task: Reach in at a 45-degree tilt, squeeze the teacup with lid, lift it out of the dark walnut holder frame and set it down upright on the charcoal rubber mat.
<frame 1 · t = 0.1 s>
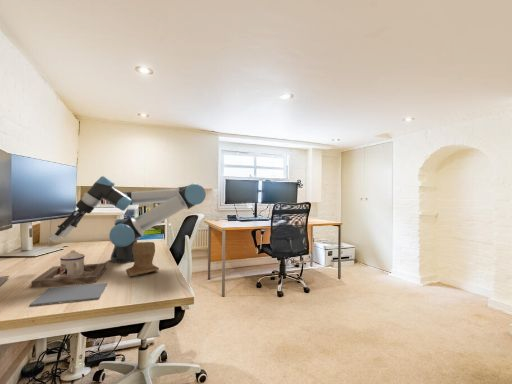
hand: (57, 238, 125), 15 cm above the table, tool tilted 35°, fingers open, 13 cm apart
brown upright rounded piece: (140, 273, 123), on the table
charcoal rubber mat: (72, 294, 96), on the table
walnut holder frame: (73, 276, 115), on the table
teacup with lid: (73, 277, 115), resting in walnut holder frame
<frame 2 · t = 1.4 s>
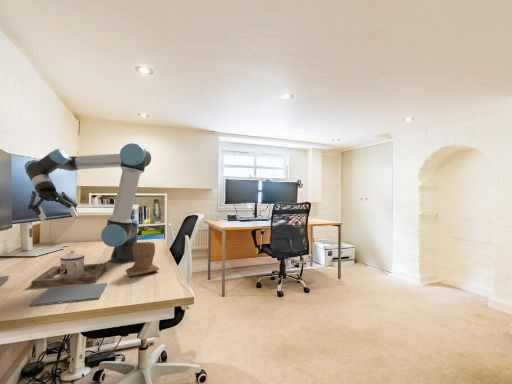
hand: (60, 218, 120), 26 cm above the table, tool tilted 45°, fingers open, 13 cm apart
nothing on the table moved.
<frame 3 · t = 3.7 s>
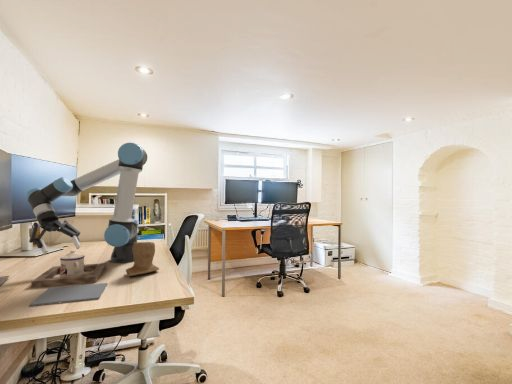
hand: (63, 250, 117), 11 cm above the table, tool tilted 45°, fingers open, 13 cm apart
nothing on the table moved.
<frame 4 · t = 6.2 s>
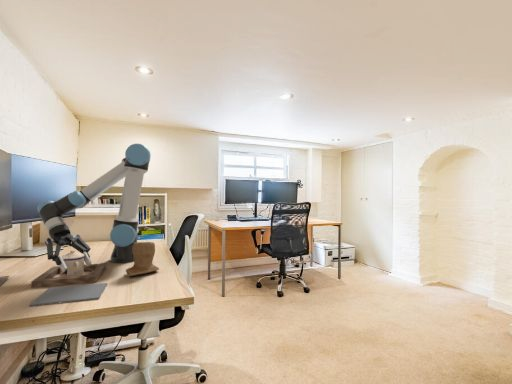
hand: (77, 267, 114), 5 cm above the table, tool tilted 45°, fingers open, 10 cm apart
teacup with lid: (73, 277, 115), resting in walnut holder frame, touching gripper
everything else where it was.
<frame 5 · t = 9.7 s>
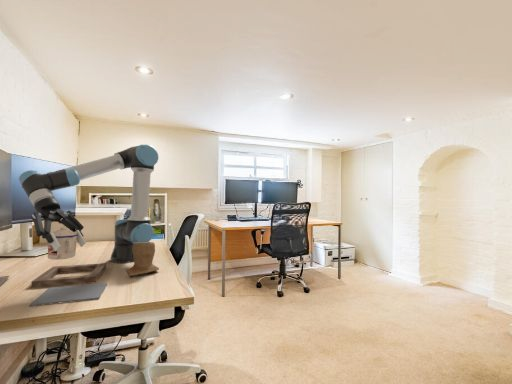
hand: (71, 246, 98), 17 cm above the table, tool tilted 45°, fingers closed on teacup with lid, 9 cm apart
teacup with lid: (63, 258, 99), point 13 cm above the table, touching gripper
everything else where it was.
when the fingers open (7 cm above the table, at t = 12.9 s): teacup with lid drops 1 cm, resting on charcoal rubber mat.
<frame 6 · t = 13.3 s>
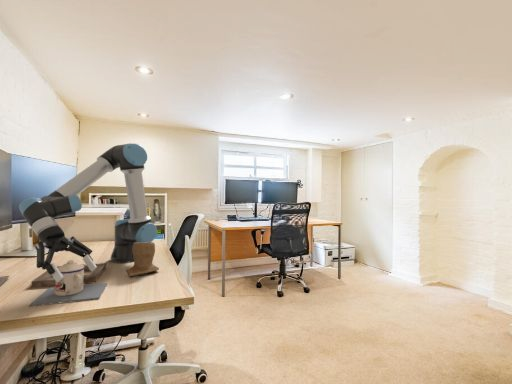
hand: (78, 274, 95), 8 cm above the table, tool tilted 45°, fingers open, 13 cm apart
teacup with lid: (71, 293, 96), resting on charcoal rubber mat
everything else where it was.
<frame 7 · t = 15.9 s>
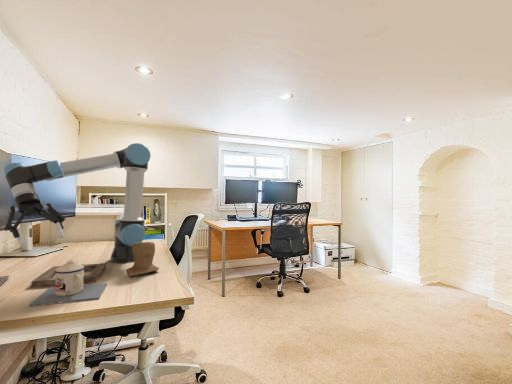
hand: (43, 240, 105), 18 cm above the table, tool tilted 35°, fingers open, 13 cm apart
nothing on the table moved.
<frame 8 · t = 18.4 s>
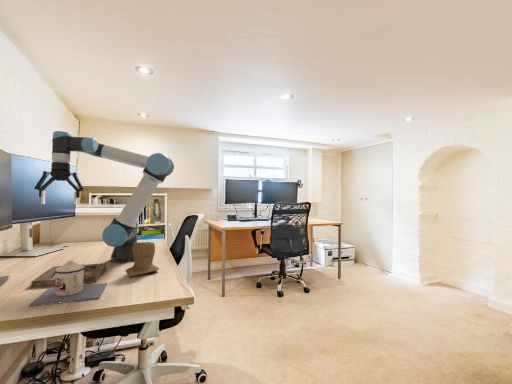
hand: (59, 204, 130), 32 cm above the table, tool pointing down, fingers open, 13 cm apart
nothing on the table moved.
at the end: teacup with lid inside the target area on the charcoal rubber mat (0.4 cm from its centre), point 0.4 cm above the charcoal rubber mat's base; teacup with lid tilted 0°; the gripper is holding nothing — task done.
